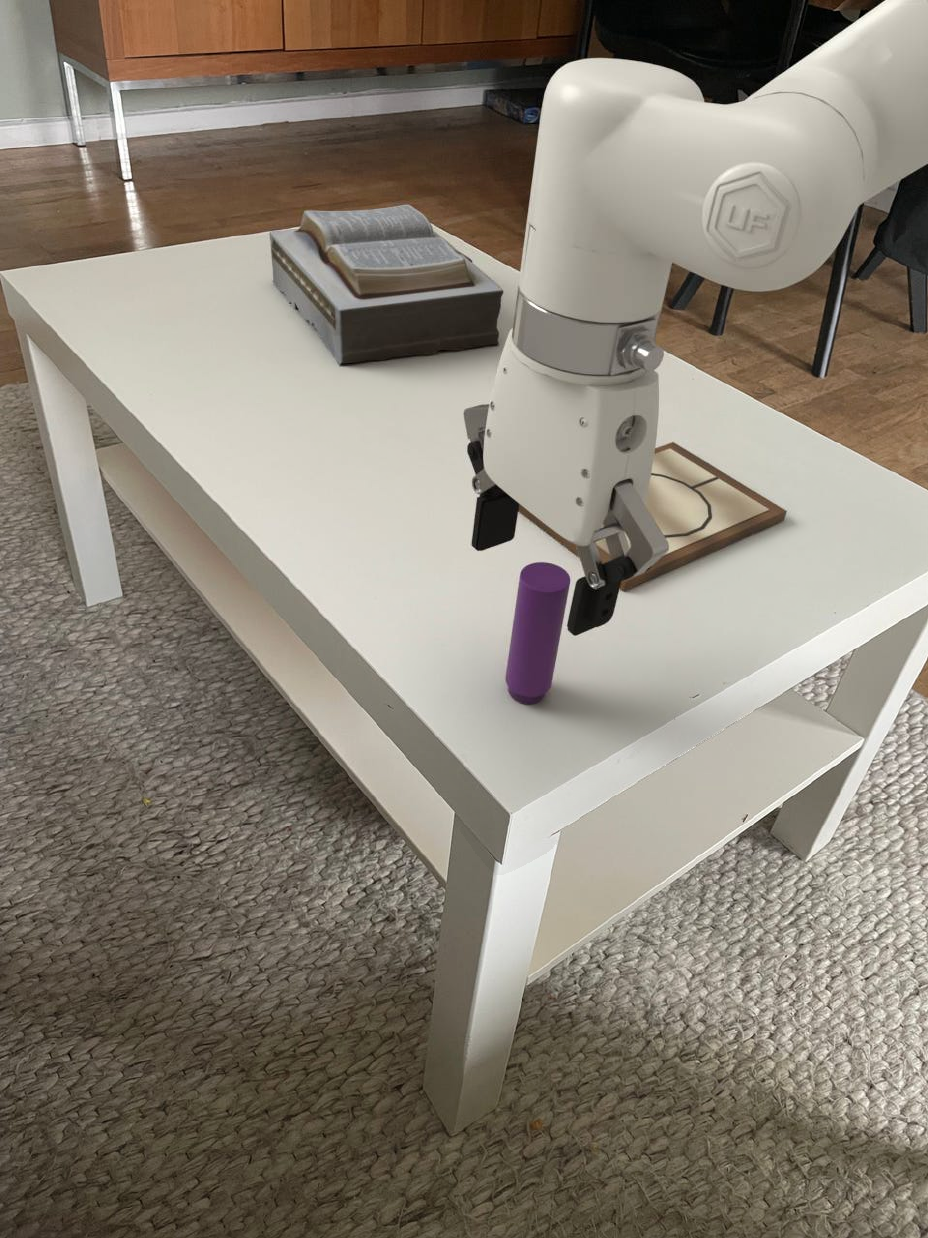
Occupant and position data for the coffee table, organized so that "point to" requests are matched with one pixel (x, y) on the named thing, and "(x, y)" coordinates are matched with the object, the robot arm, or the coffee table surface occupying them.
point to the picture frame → (690, 511)
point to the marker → (536, 631)
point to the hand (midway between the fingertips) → (538, 583)
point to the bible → (383, 284)
